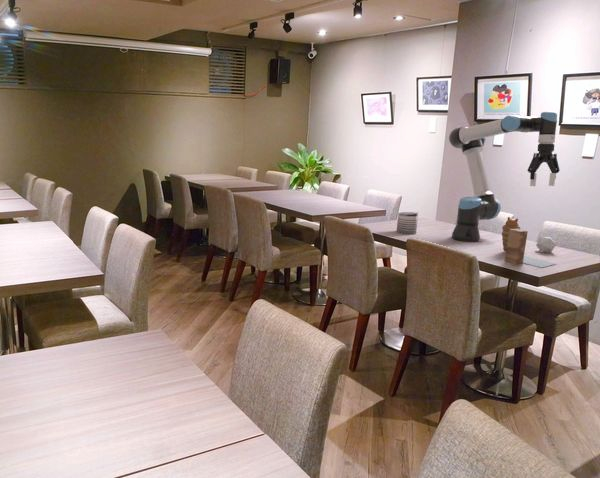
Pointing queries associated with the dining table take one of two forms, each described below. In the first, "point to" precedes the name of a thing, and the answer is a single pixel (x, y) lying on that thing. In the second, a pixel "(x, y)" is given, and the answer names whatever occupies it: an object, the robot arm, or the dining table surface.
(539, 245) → the grey knobbly ball
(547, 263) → the mat
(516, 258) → the block
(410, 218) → the can
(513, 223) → the cat ice cream
